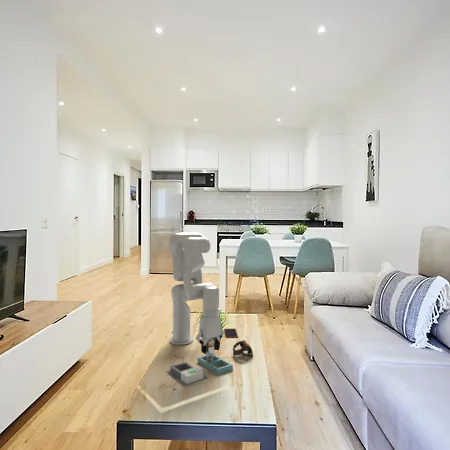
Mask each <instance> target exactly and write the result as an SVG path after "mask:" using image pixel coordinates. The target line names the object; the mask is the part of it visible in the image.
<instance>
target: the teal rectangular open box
mask: <svg viewBox="0 0 450 450" xmlns="http://www.w3.org/2000/svg"><path fill="white" fill-rule="evenodd" d="M197 363H198V364H200V365H201V366H203V367H204V368H206V369H207V370H209V371H210V372H212V373H213V374H215V375H217V376H219V375H221V374H225V373H229V372H231V371H233V370H234V365H233V364H232V363H231V362H229V361H227V360H225V359H224V358H222V357H220V356H218V355H217V354H215V353H214V361H212V362H207V361H206V354H204V355H202V356H198V357H197ZM219 366H222V367H219Z"/></svg>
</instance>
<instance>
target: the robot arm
mask: <svg viewBox="0 0 450 450" xmlns="http://www.w3.org/2000/svg"><path fill="white" fill-rule="evenodd" d="M168 247H169V250H170V253H171V257H172V258H171V259H172V275H173V279H174V281H176V282H183V283H178V284H175V285H174V286H172V287H171V291H170V292H171V293H170V294H171V301H172V331H171V335H172V337H170V339H169V342H170V343H171V344H172V345H177V346H184V345H188V344H191V343H192V342H193V341H194V339H193V337H192V336H191V307H190V305H188V303H187V302H190V301H197V300H202V316H200V319H199V323H198V324H199V325H198V326H199V327H198V334H197V335H196V337H195V340H196V341H197V342H198V343H199V344H200V348H201V349H200V350H201V353H202V354H204V355H206V351H207V346H206V342H207V339H210V338H211V339H214V341H215V346H214V350H216V351H220V342H221V340H222V338H223V336H224V335H225V331H224V329H222V319H221V315H220V313H221V309H220V288H219V287H218V286H216V285H214V283H212V282H203V272H202V268H203V267H204V266H205V263H206V262H205V259H204V256H203V254H207V253H209V252H210V250H211V242H210V239H208V237H206V236H205V235H204V234H202V233H199V232H175V233H173V234H172V233H171V235H169V238H168Z"/></svg>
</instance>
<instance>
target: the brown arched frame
mask: <svg viewBox="0 0 450 450" xmlns="http://www.w3.org/2000/svg"><path fill="white" fill-rule="evenodd" d="M238 346H240V348H238V349H236V348H237V347H238ZM232 351H233V352H232V355H233V356H241V355H242V356H243V355H244V356H245V353H244V352H247V354H250V355H251V358H254V351H253V349H252V346H251V345H250V344H249V343H247V341H246V340H245V339H242V340H239V341H237V342H235V344H233V346H232Z"/></svg>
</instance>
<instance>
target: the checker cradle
mask: <svg viewBox="0 0 450 450" xmlns="http://www.w3.org/2000/svg"><path fill="white" fill-rule="evenodd" d="M169 368H170V370H167V371H165V373H166V374H168V375H169V376H170V377H171V378H173V379H174V380H175V381H176V382H177V383H179V384H181V386H183V387H186V386H188V385H192V384H196V383H198V382H201V381H203V380H208V379H209V377H208V376H206V375H205V374H204V371H203V370H201V369H200V368H199V367H197V366H196V367H195V366H193V365H192V364H190V362H189V363H188V362H187V361H183V362H180V363H177V364H173V365H170V367H169Z"/></svg>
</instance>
